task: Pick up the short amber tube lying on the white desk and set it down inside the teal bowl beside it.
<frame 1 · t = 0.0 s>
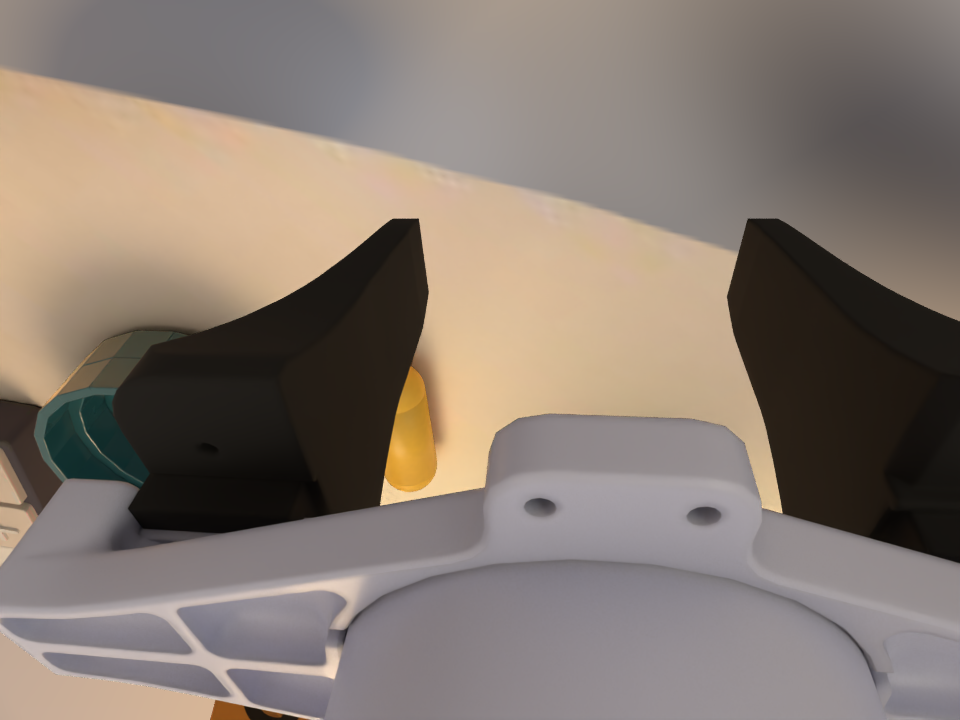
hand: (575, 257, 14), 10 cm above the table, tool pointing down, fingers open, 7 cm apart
teal bowl: (205, 414, 35), on the table
coffee package: (319, 609, 51), on the table
amber tube: (408, 409, 33), on the table
calculator: (0, 464, 41), on the table
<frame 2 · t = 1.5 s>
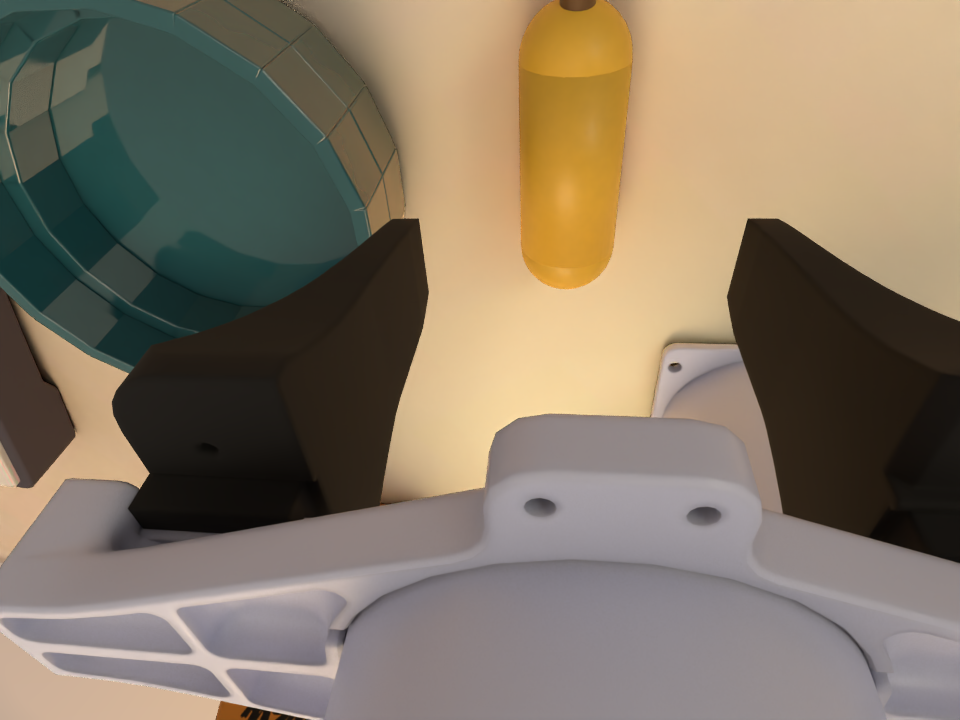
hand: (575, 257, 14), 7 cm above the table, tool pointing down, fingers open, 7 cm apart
teal bowl: (221, 174, 21), on the table
coffee package: (371, 545, 37), on the table
amber tube: (570, 140, 19), on the table
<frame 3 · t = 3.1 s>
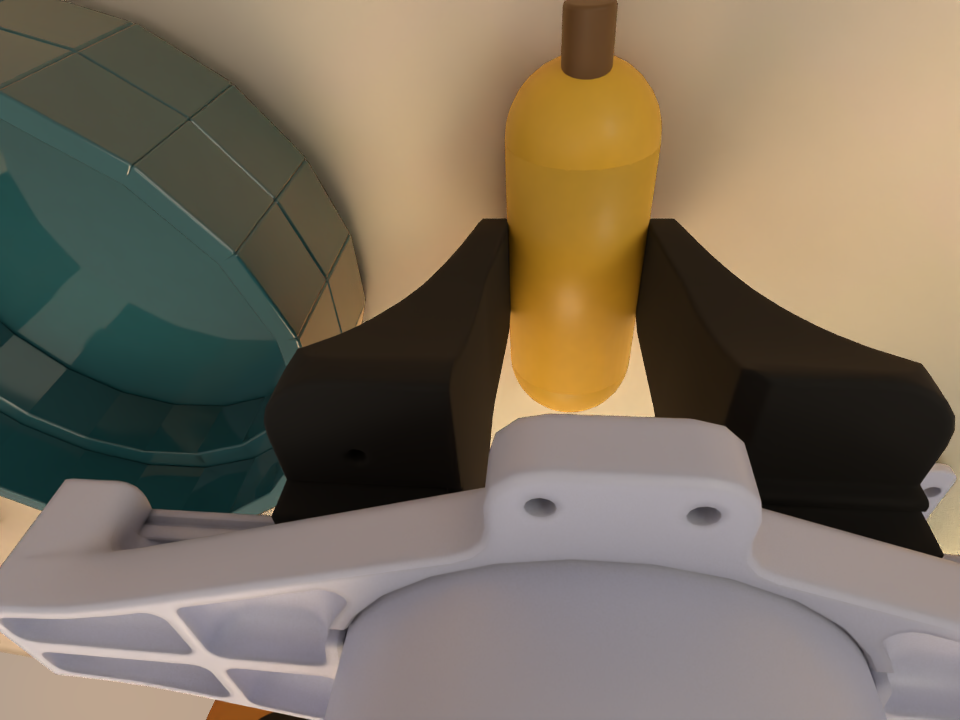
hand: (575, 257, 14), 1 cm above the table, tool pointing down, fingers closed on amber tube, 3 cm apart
teal bowl: (134, 258, 17), on the table
coffee package: (346, 636, 33), on the table
amber tube: (573, 226, 15), on the table, touching gripper
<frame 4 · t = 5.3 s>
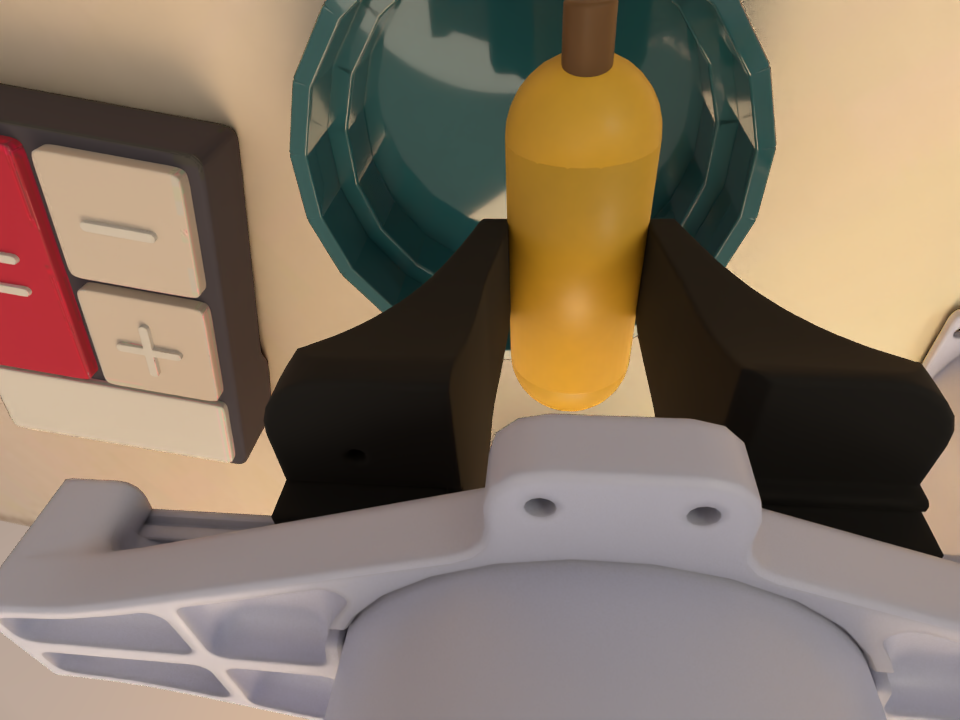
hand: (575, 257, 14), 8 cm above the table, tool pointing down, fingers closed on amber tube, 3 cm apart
teal bowl: (528, 125, 20), on the table
amber tube: (573, 225, 15), point 7 cm above the table, touching gripper
calculator: (136, 269, 26), on the table
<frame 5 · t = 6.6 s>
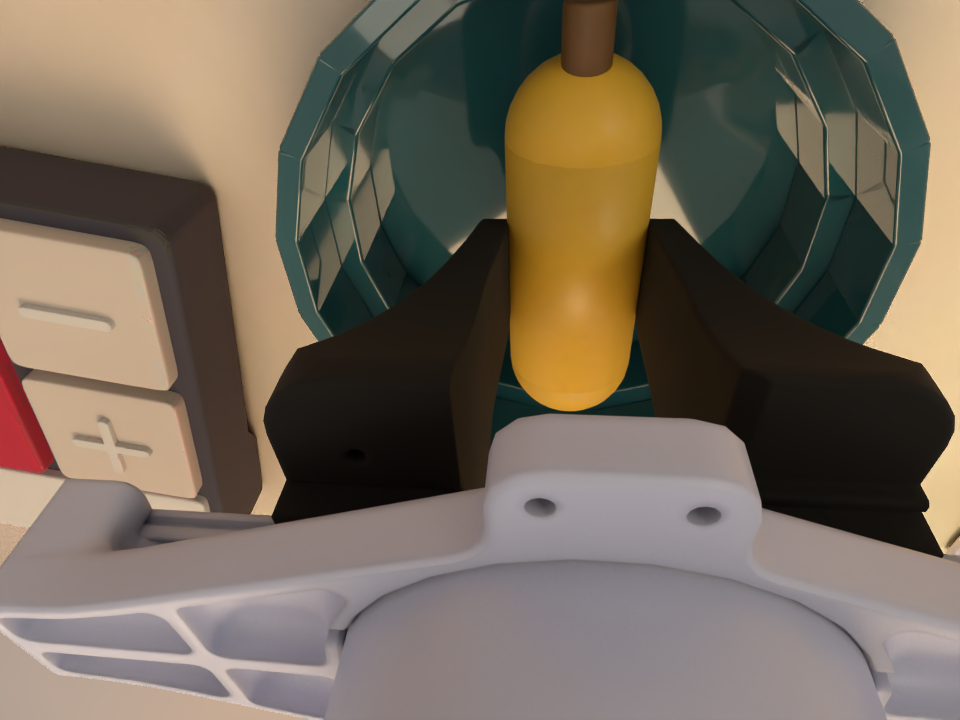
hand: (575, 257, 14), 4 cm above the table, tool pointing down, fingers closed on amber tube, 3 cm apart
teal bowl: (574, 187, 16), on the table
amber tube: (573, 225, 15), point 2 cm above the table, touching gripper
calculator: (101, 339, 22), on the table
when the fingers open (2 cm above the table, at t = 7.4 s): amber tube stays where it is, resting on teal bowl.
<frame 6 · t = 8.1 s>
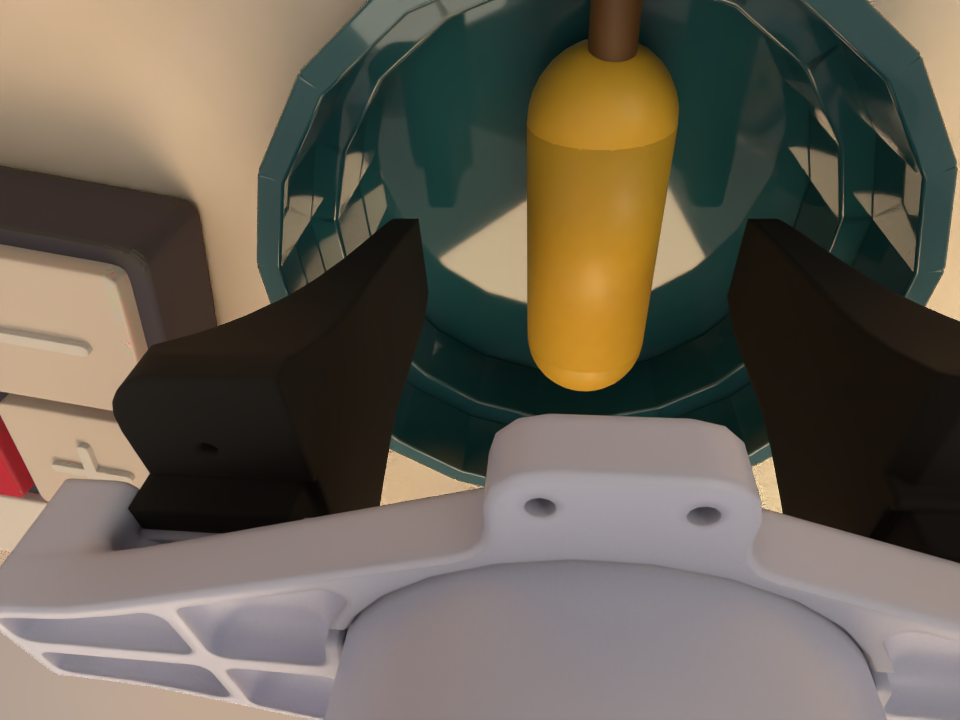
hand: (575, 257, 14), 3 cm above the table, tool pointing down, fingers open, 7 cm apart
teal bowl: (573, 204, 16), on the table
amber tube: (572, 211, 15), resting on teal bowl, tilted 17°
calculator: (83, 357, 22), on the table
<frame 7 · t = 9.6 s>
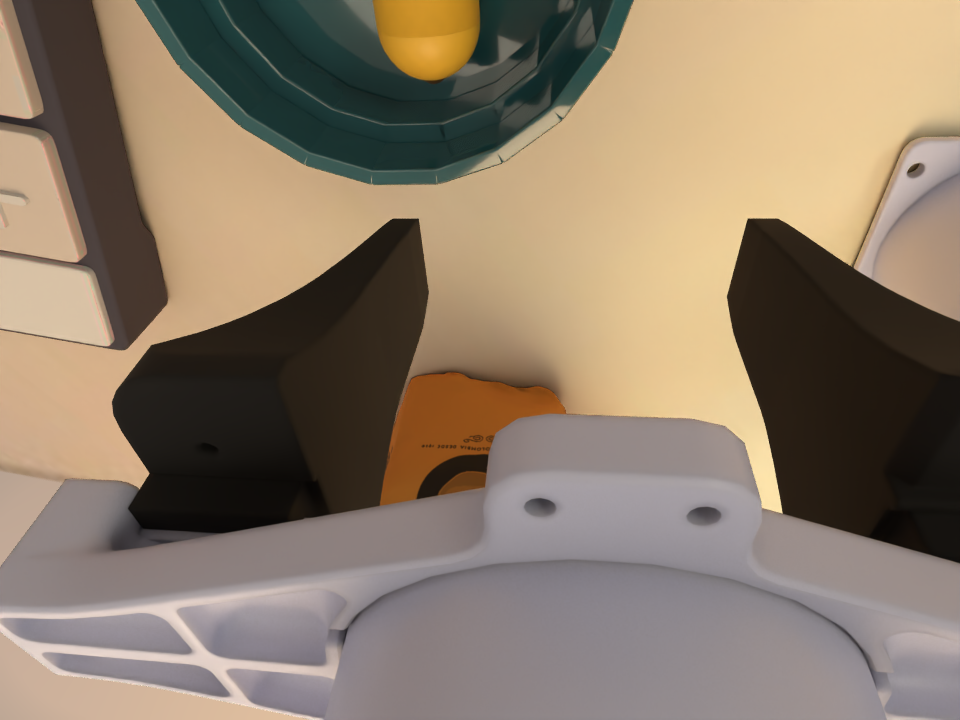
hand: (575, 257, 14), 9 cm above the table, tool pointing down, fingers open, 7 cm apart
coffee package: (483, 445, 33), on the table
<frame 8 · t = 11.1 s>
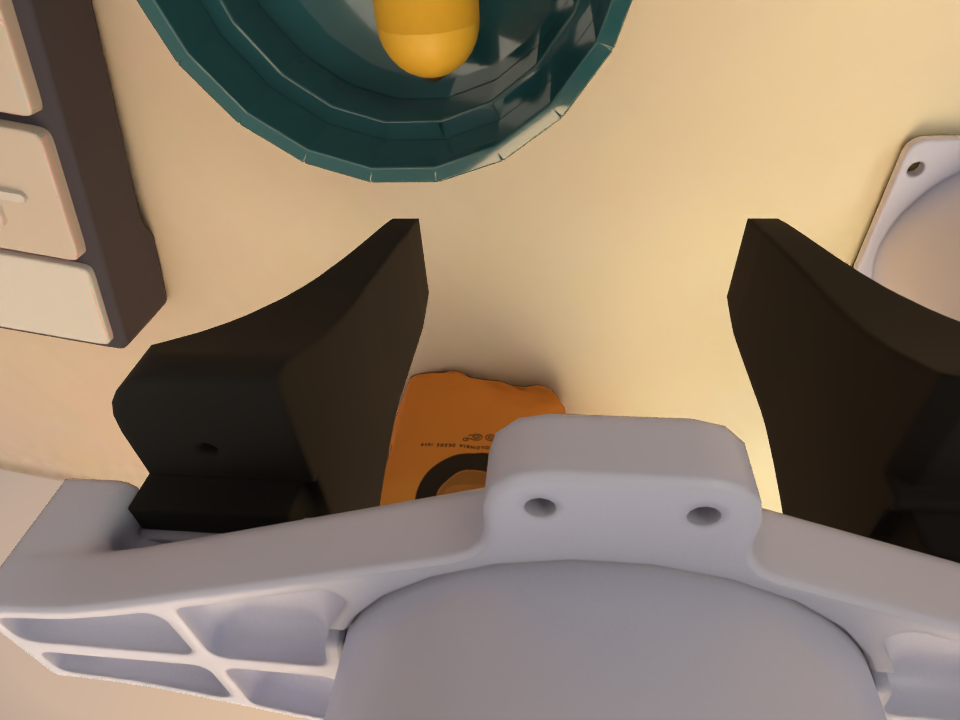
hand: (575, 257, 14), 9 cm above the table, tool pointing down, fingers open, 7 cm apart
coffee package: (482, 444, 33), on the table
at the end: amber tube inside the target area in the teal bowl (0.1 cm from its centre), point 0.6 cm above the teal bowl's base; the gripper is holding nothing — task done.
